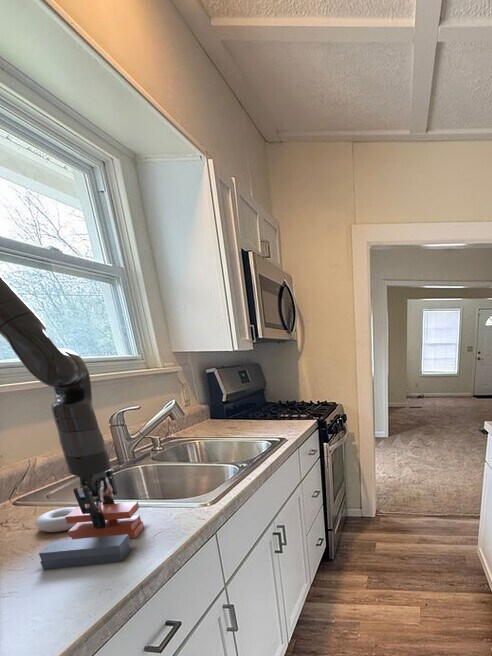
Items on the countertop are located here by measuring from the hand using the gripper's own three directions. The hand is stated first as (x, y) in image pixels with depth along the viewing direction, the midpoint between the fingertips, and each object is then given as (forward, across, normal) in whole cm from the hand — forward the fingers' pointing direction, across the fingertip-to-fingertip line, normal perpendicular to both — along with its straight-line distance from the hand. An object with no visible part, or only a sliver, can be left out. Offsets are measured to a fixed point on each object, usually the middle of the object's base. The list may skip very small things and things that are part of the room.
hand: (106, 521), depth 92 cm
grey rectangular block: (+3, +12, 0) cm, 12 cm away
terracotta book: (-1, 0, 0) cm, 1 cm away
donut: (+4, -8, -13) cm, 16 cm away
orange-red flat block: (+3, 0, 0) cm, 3 cm away
